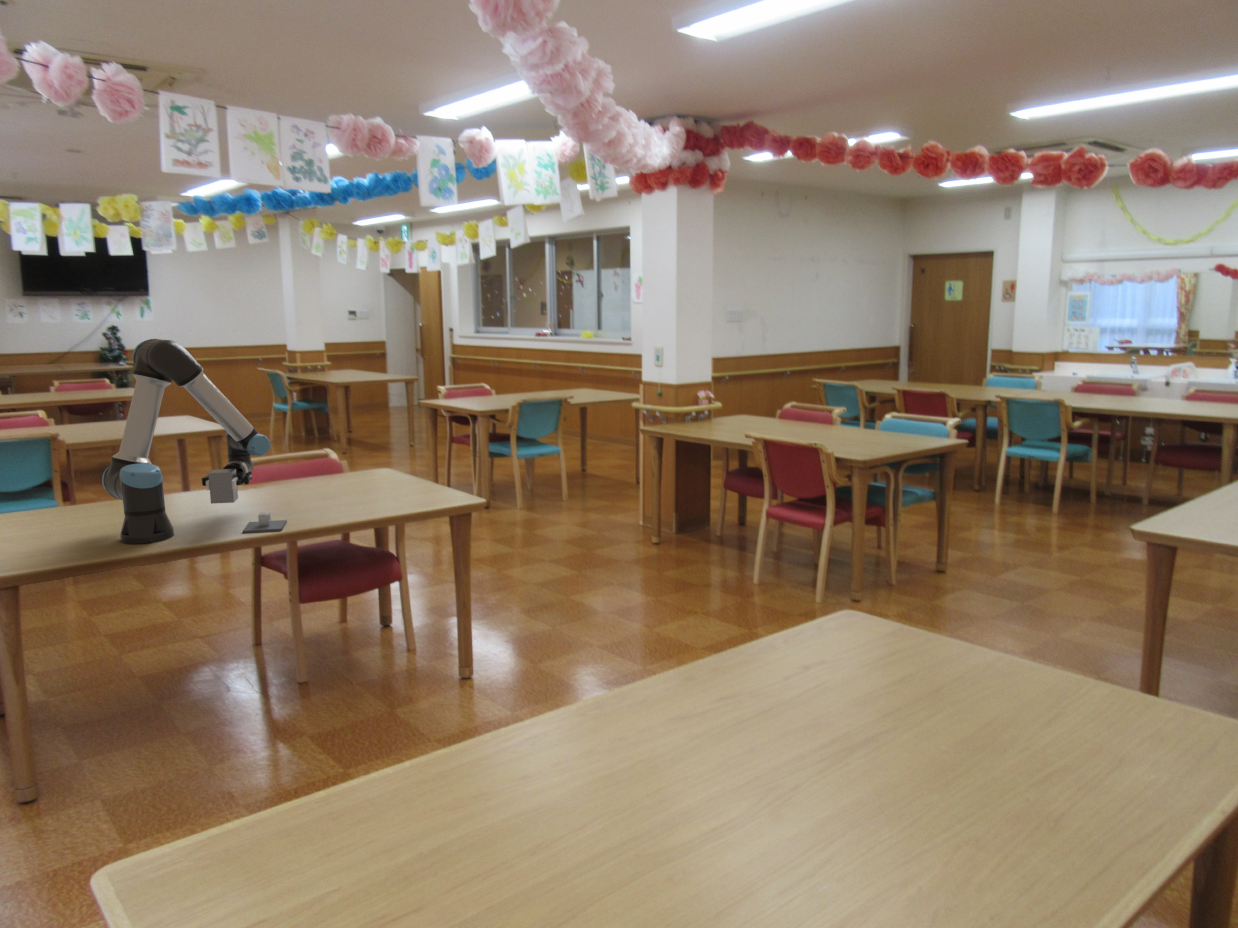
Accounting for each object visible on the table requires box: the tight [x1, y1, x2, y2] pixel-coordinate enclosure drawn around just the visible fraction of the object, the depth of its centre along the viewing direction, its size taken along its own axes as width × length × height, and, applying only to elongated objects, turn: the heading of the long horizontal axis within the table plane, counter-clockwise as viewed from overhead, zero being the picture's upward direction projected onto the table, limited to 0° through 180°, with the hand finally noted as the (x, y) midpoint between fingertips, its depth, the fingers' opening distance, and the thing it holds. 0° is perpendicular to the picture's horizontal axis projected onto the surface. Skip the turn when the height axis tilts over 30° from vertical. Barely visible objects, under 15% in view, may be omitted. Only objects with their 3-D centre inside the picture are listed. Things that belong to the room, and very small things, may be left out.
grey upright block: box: [208, 468, 239, 504], centre depth 289 cm, size 7×7×10 cm
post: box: [257, 511, 272, 527], centre depth 294 cm, size 3×3×4 cm
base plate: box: [242, 519, 288, 534], centre depth 294 cm, size 12×12×1 cm
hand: (220, 485), depth 285 cm, fingers closed on grey upright block, 7 cm apart
